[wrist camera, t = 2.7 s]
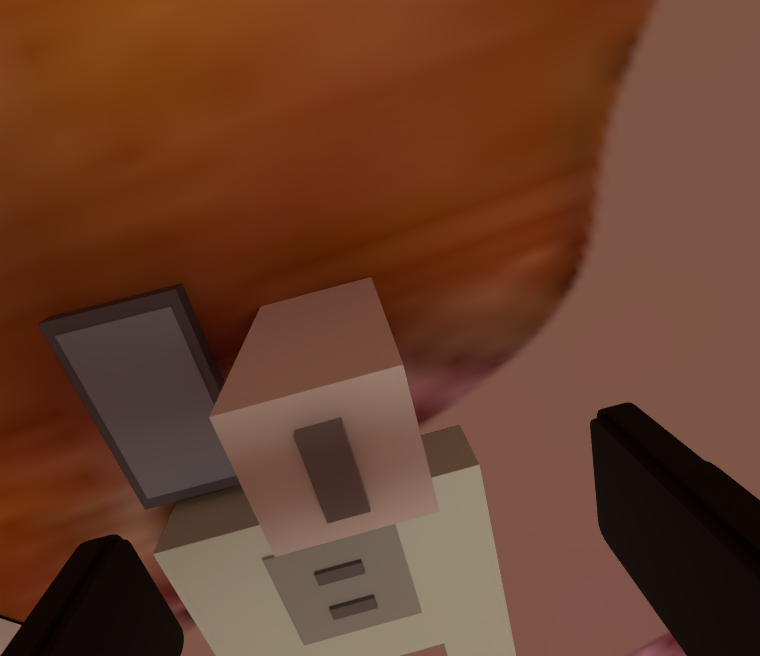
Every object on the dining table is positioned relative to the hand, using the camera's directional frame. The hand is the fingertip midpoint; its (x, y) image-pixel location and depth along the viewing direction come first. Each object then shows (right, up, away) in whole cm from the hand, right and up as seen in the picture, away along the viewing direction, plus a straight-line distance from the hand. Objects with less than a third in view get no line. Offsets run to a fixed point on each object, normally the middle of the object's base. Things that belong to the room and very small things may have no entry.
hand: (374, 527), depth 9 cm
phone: (-8, +2, +8) cm, 11 cm away
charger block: (-2, +3, +7) cm, 8 cm away
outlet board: (-1, -9, +12) cm, 15 cm away
